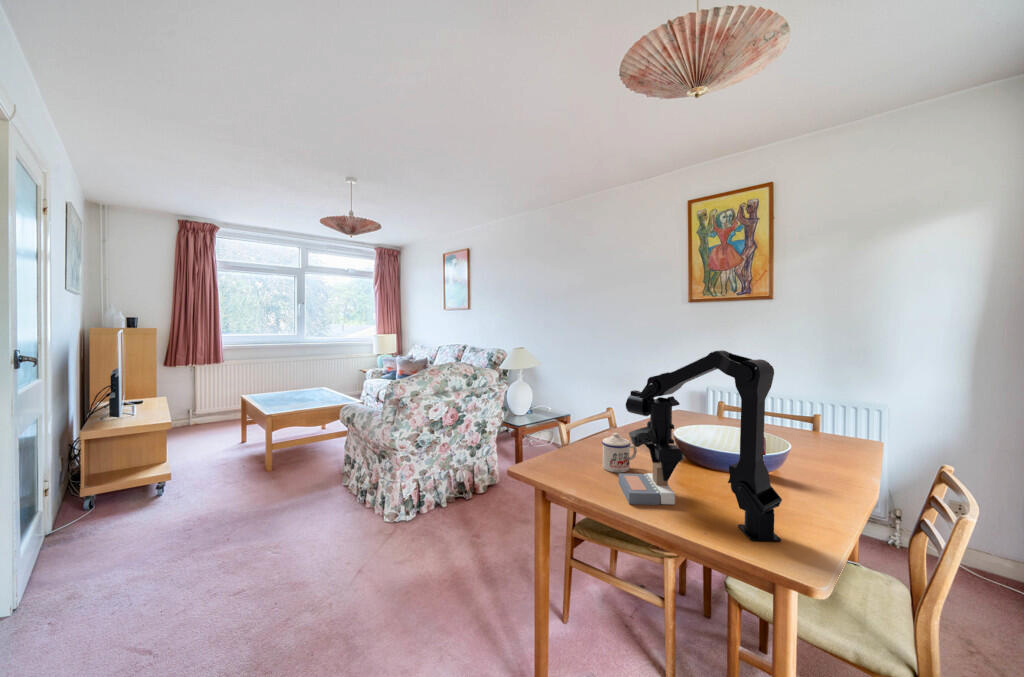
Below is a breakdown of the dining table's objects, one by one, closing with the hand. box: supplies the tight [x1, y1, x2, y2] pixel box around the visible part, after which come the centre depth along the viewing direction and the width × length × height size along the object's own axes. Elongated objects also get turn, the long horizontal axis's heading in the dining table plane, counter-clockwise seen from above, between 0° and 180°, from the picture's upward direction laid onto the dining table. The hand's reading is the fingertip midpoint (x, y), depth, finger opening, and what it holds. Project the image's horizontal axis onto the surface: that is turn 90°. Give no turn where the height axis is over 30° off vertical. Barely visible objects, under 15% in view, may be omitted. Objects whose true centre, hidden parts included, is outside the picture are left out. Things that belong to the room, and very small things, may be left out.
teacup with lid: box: [601, 432, 638, 474], centre depth 135 cm, size 12×9×12 cm
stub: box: [646, 462, 676, 505], centre depth 115 cm, size 14×4×8 cm, turn 177°
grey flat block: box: [618, 472, 661, 506], centre depth 115 cm, size 14×8×3 cm, turn 177°
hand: (660, 474), depth 115 cm, fingers open, 9 cm apart
